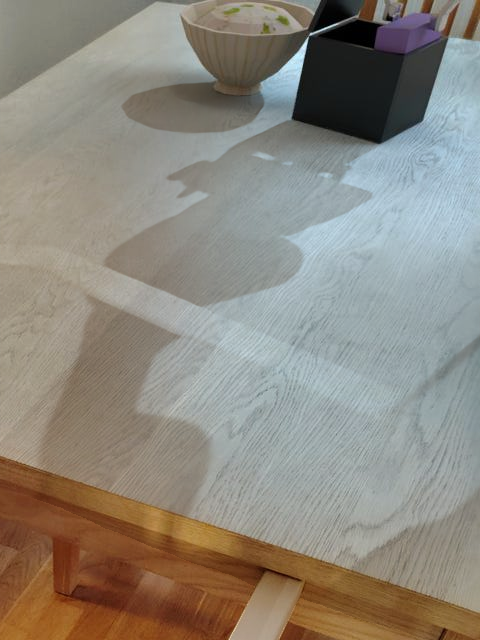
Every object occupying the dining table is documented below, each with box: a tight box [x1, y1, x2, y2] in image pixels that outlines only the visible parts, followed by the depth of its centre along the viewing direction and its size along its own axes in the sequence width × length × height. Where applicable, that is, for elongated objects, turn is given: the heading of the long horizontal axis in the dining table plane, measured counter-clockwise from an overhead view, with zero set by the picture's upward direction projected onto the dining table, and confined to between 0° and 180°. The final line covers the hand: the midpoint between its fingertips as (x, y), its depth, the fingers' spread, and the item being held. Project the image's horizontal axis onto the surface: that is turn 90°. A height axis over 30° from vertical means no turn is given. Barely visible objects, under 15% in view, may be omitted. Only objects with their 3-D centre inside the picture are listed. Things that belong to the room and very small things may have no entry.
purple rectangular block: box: [374, 12, 443, 54], centre depth 112 cm, size 9×4×2 cm, turn 135°
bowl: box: [179, 0, 315, 97], centre depth 127 cm, size 19×19×10 cm
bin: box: [291, 17, 449, 144], centre depth 118 cm, size 13×11×10 cm
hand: (412, 25), depth 111 cm, fingers open, 5 cm apart
